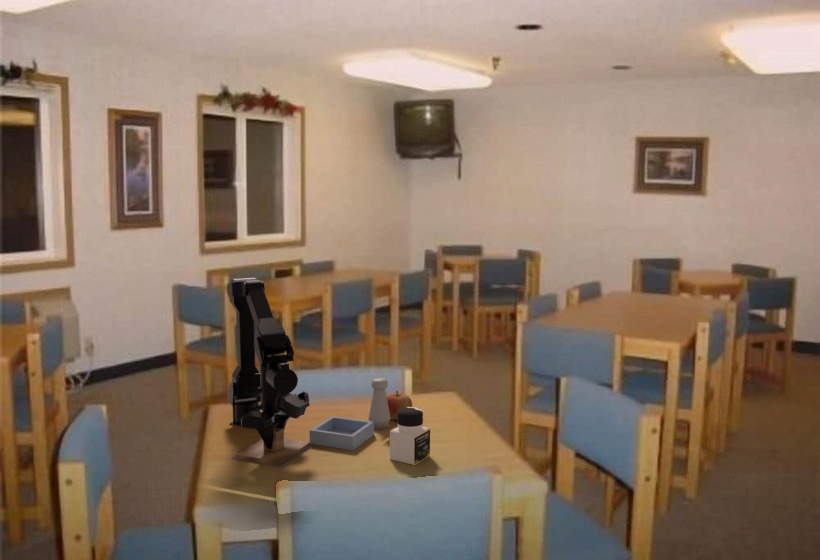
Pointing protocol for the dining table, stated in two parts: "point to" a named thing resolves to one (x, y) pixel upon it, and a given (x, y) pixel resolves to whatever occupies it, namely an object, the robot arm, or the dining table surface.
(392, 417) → the apple
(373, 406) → the salt shaker
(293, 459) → the mat
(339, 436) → the blue-grey open box
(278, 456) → the lid
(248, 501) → the dining table surface
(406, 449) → the medicine bottle
